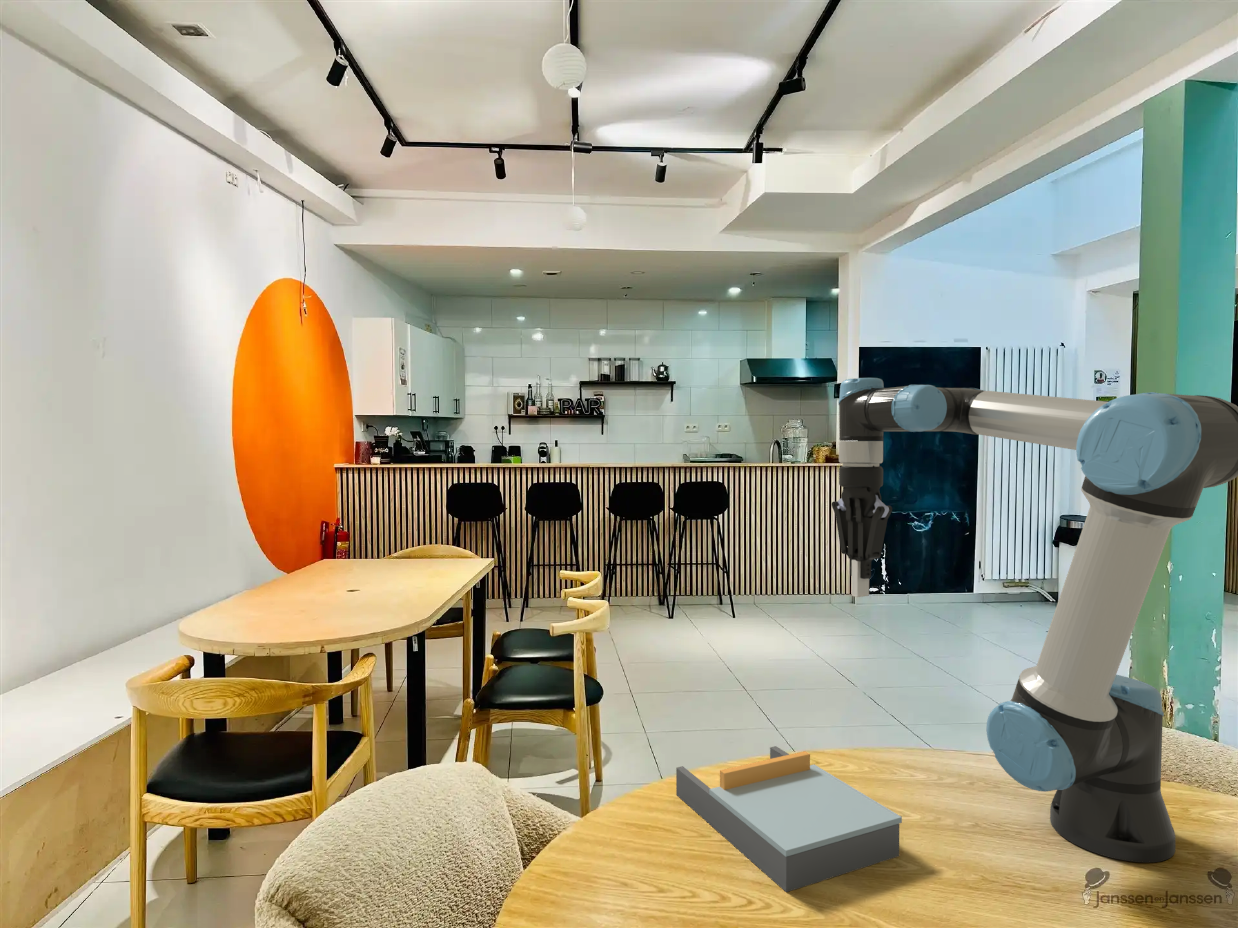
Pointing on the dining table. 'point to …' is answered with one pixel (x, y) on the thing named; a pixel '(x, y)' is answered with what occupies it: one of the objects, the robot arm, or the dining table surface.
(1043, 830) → the dining table surface
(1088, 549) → the robot arm
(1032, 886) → the dining table surface
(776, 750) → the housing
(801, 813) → the lid
